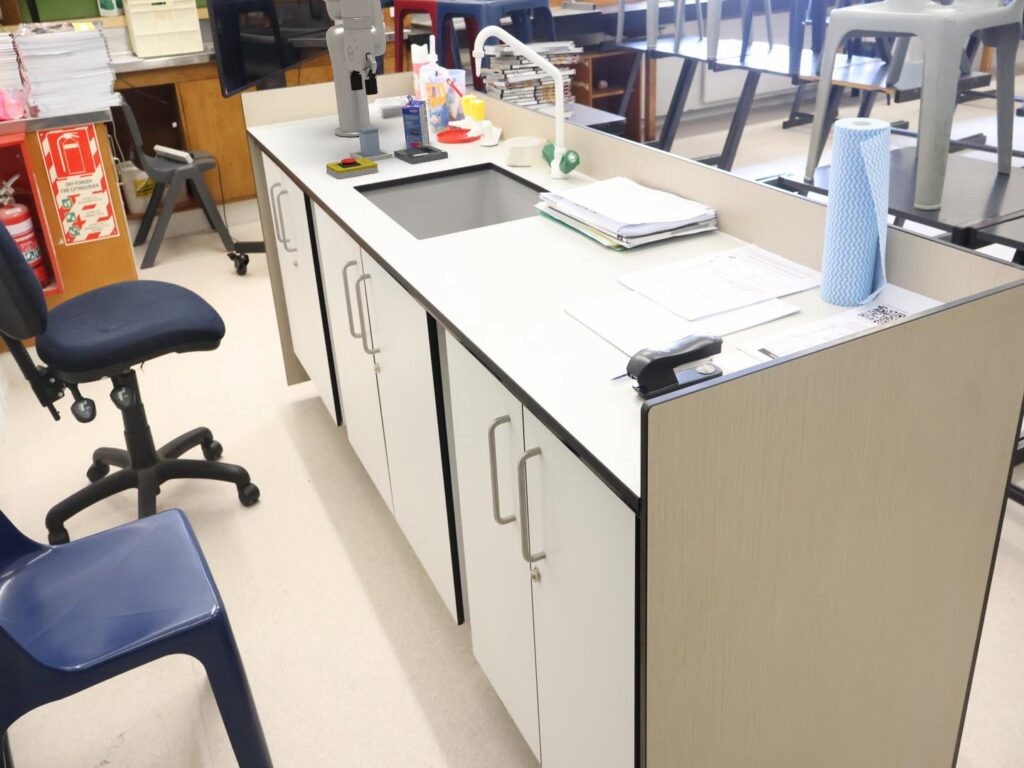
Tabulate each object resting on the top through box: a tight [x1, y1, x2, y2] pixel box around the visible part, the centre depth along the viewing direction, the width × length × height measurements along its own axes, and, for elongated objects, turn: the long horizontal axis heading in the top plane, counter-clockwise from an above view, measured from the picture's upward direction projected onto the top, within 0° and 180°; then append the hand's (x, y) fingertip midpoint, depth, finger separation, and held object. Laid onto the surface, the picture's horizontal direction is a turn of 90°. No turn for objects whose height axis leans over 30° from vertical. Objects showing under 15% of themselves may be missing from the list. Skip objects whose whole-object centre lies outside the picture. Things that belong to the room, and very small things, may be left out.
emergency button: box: [325, 157, 379, 180], centre depth 238 cm, size 9×4×15 cm
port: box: [393, 144, 449, 165], centre depth 250 cm, size 11×11×2 cm
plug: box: [358, 125, 381, 158], centre depth 251 cm, size 4×4×8 cm
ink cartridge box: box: [401, 93, 431, 149], centre depth 261 cm, size 10×6×14 cm, turn 174°
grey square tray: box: [348, 148, 394, 162], centre depth 252 cm, size 9×9×2 cm
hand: (364, 92), depth 244 cm, fingers open, 9 cm apart
